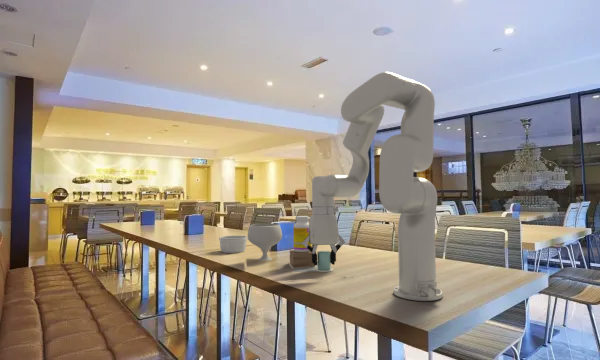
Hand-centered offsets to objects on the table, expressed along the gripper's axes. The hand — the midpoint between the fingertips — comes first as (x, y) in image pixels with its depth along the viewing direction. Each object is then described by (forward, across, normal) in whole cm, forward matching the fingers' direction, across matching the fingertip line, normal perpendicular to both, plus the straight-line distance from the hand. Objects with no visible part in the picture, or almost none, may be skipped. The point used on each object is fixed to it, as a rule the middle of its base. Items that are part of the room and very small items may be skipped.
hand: (323, 263), depth 121 cm
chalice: (+3, +18, -24) cm, 30 cm away
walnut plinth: (+2, +6, -9) cm, 11 cm away
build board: (+3, +4, -6) cm, 8 cm away
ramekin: (+3, +32, -54) cm, 63 cm away
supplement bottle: (-3, +6, -9) cm, 11 cm away
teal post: (+2, 0, 0) cm, 2 cm away
